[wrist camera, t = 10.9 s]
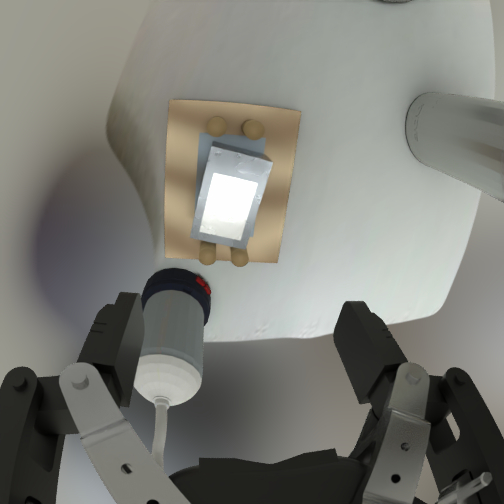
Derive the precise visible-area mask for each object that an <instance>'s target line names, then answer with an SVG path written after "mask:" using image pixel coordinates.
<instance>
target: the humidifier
mask: <svg viewBox="0 0 504 504" xmlns="http://www.w3.org/2000/svg"><path fill="white" fill-rule="evenodd" d="M210 294H211V290H210V288H209V287H208V285H207V284H205V281H204V280H202V279H201V278H200V277H199V276H197V275H196V274H194V273H192V272H190V271H188V270H184V269H178V268H170V269H163V270H161V271H159V272H157V273H155V274H154V275H152V276H151V278H149V279H148V281H147V283H146V286H145V288H144V290H143V294H142V297H141V303H142V310H143V318H144V325H145V334H144V341H143V345H142V349H141V353H140V357H139V362H138V366H137V371H136V376H135V380H134V386H135V388H136V389H137V391H138V392H139V393H140V394H141V395H142V396H143V397H145V398H146V399H147V400H149V401H151V402H153V403H155V407H156V426H155V435H154V441H153V447H152V457H153V458H154V460H155V461H156V462H157V464H158V465H159V466H160V467H161V469H162V470H163V450H164V445H165V439H166V430H167V409H168V408H169V406H173V405H177V404H180V403H183V402H185V401H187V400H189V399H190V398H191V397H193V396H194V395H195V393H196V392H197V391H198V389H199V388H200V386H201V381H202V374H203V332H204V326H205V325H206V323H207V322H208V318H209V314H210V306H211V297H210Z"/></svg>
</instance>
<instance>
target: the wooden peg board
mask: <svg viewBox="0 0 504 504" xmlns="http://www.w3.org/2000/svg"><path fill="white" fill-rule="evenodd" d="M300 117H301V111H295V110H289V109H282V108H275V107H268V106H260V105H251V104H241V103H230V102H216V101H198V100H170V101H169V113H168V126H167V142H166V164H165V258H182V259H199V261H200V262H201V263H202V264H204V265H211V264H213V263H214V262H215V260H222V261H232V263H233V264H234V265H235V266H237V267H242V266H245V265H246V264H247V263H248V262H265V263H277V262H278V256H279V250H280V244H281V239H282V233H283V227H284V221H285V215H286V209H287V203H288V197H289V190H290V184H291V178H292V171H293V165H294V158H295V152H296V145H297V138H298V131H299V124H300ZM213 141H216V142H220V143H224V144H228V145H232V146H236V147H240V148H244V149H248V150H251V151H255V152H259V153H262V154H266V155H267V156H268V157H269V158H270V159H271V161H272V162H273V165H272V168H271V171H270V174H269V177H268V180H267V183H266V187H265V190H264V193H263V196H262V199H261V202H260V206H259V209H258V212H257V215H256V218H255V221H254V224H253V228H252V231H251V234H250V237H249V240H248V244H247V247H246V250H245V249H240V248H235V247H230V246H226V245H221V244H216V243H212V242H207V241H202V240H197V239H193V238H190V233H191V228H192V223H193V218H194V214H195V210H196V205H197V201H198V197H199V193H200V188H201V184H202V180H203V176H204V172H205V168H206V165H207V161H208V157H209V153H210V149H211V146H212V142H213Z"/></svg>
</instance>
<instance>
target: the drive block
mask: <svg viewBox="0 0 504 504" xmlns="http://www.w3.org/2000/svg"><path fill="white" fill-rule="evenodd" d="M272 165H273V162H272V161H271V159H270V158H269V157H268V156H267V155H266V154H262V153H259V152H255V151H251V150H248V149H244V148H240V147H236V146H232V145H228V144H224V143H220V142H216V141H213V142H212V146H211V149H210V153H209V157H208V161H207V165H206V168H205V172H204V176H203V180H202V184H201V188H200V193H199V197H198V201H197V205H196V210H195V214H194V218H193V223H192V228H191V233H190V238H193V239H197V240H202V241H207V242H212V243H216V244H221V245H226V246H230V247H235V248H240V249H245V250H246V247H247V244H248V240H249V237H250V234H251V231H252V228H253V224H254V221H255V218H256V215H257V212H258V209H259V206H260V202H261V199H262V196H263V193H264V190H265V187H266V183H267V180H268V177H269V174H270V171H271V168H272Z"/></svg>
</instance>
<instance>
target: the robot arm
mask: <svg viewBox="0 0 504 504" xmlns="http://www.w3.org/2000/svg"><path fill="white" fill-rule="evenodd" d="M406 136H407V140H408V144H409V146H410V149H411V151H412V153H413V154H414V156H415V157H416V158H417V159H418V160H419V161H420V162H421V163H423V164H425V165H427V166H429V167H431V168H434V169H436V170H438V171H441V172H443V173H445V174H447V175H449V176H452V177H454V178H456V179H458V180H460V181H462V182H464V183H467V184H469V185H471V186H473V187H475V188H477V189H479V190H481V191H483V192H484V193H487V194H488V195H490V196H492V197H494V198H496V199H498V200H499V201H501V202H503V203H504V102H501V101H496V100H490V99H484V98H477V97H470V96H462V95H454V94H444V93H425V94H423V95H421V96H419V97H418V98H417V99H416V100H415V101H414V102H413V104H412V105H411V107H410V109H409V111H408V115H407V119H406ZM144 334H145V325H144V318H143V310H142V303H141V296H140V294H139V293H128V292H120V293H119V295H118V298H117V300H116V302H115V305H113V304H107V305H105V307H103V308H102V309H101V310H100V311H99V312H98V314H97V316H96V318H95V320H94V324H93V325H92V327H91V329H90V332H89V334H88V336H87V338H86V341H85V343H84V346H83V348H82V350H81V353H80V355H79V358H78V360H77V362H76V363H74V364H71V365H69V366H68V367H66V368H65V369H64V370H63V371H62V373H61V375H59V376H52V377H37V376H36V374H35V373H34V371H33V370H31V369H30V368H28V367H17V368H14V369H12V370H11V371H10V372H8V373H7V375H6V376H5V378H4V380H3V383H2V385H1V388H0V504H56V494H57V485H58V477H59V469H60V463H61V456H62V451H63V445H64V439H65V435H66V434H78V433H80V435H81V442H82V445H83V447H84V449H85V451H86V453H87V455H88V456H89V458H90V460H91V462H92V464H93V466H94V468H95V469H96V471H97V473H98V474H99V476H100V478H101V480H102V481H103V483H104V485H105V486H106V488H107V489H108V491H109V493H110V494H111V496H112V497H113V499H114V500H115V502H116V503H117V504H427V503H425V502H423V501H422V500H420V499H418V498H416V497H415V493H416V489H417V486H418V482H419V478H420V474H421V471H422V467H423V463H424V458H425V454H426V456H427V459H428V461H429V464H430V467H431V470H432V473H433V476H434V478H435V482H436V485H437V488H438V491H439V497H438V501H436V502H435V504H504V439H503V437H502V434H501V432H500V430H499V429H498V426H497V424H496V423H495V421H494V419H493V417H492V415H491V413H490V411H489V409H488V407H487V406H486V404H485V402H484V400H483V398H482V397H481V395H480V393H479V391H478V390H477V388H476V386H475V384H474V383H473V381H472V379H471V378H470V376H469V375H468V374H467V373H466V372H465V371H464V370H462V369H460V368H456V367H453V368H450V369H448V370H447V372H446V373H445V374H444V376H432V375H428V373H427V372H426V370H425V369H424V368H423V367H422V366H420V365H418V364H416V363H412V362H408V361H407V359H406V357H405V356H404V354H403V352H402V350H401V349H400V347H399V346H398V344H397V342H396V341H395V339H394V338H393V337H392V334H391V333H390V331H388V328H387V326H386V325H385V323H384V321H383V320H382V319H381V318H379V317H378V316H377V315H376V314H375V313H371V311H370V310H369V308H368V307H367V305H366V303H365V302H364V301H346V302H345V303H344V304H343V307H342V310H341V312H340V315H339V318H338V321H337V323H336V326H335V329H334V335H333V337H334V343H335V346H336V348H337V350H338V353H339V355H340V357H341V360H342V362H343V365H344V367H345V370H346V372H347V374H348V377H349V379H350V381H351V384H352V386H353V389H354V392H355V394H356V396H357V399H358V401H359V404H365V403H371V405H372V407H371V409H370V410H369V412H368V415H367V418H366V420H365V423H364V426H363V428H362V431H361V433H360V436H359V438H358V441H357V443H356V445H355V447H354V449H353V451H352V452H351V453H350V455H349V456H348V457H342V456H337V453H336V450H335V448H334V449H329V450H322V451H316V452H309V453H303V454H301V455H298V456H295V457H292V458H290V459H287V460H284V461H281V462H278V463H274V464H265V463H258V462H252V461H246V460H240V459H235V458H199V465H197V466H192V467H189V468H185V469H182V470H180V471H178V472H176V473H174V474H172V475H170V476H169V477H168V476H167V475H166V474H165V473H164V471H163V470H162V469H161V467H160V466H159V465H158V464H157V462H156V461H155V460H154V458H153V457H152V455H151V454H150V453H149V451H148V450H147V449H146V447H145V446H144V444H143V443H142V442H141V440H140V438H139V437H138V436H137V434H136V433H135V431H134V430H133V428H132V427H131V425H130V424H129V422H128V421H127V420H126V419H125V418H124V417H123V415H122V413H121V412H120V410H119V409H120V406H124V407H129V405H130V399H131V395H132V390H133V385H134V380H135V376H136V371H137V366H138V362H139V357H140V353H141V349H142V345H143V341H144ZM450 413H452V415H453V417H454V419H455V421H456V423H457V425H458V427H459V429H460V436H459V439H458V440H457V441H456V439H455V437H454V435H453V432H452V430H451V428H450V426H449V424H448V421H447V419H446V417H447V416H448V415H449V414H450Z"/></svg>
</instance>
